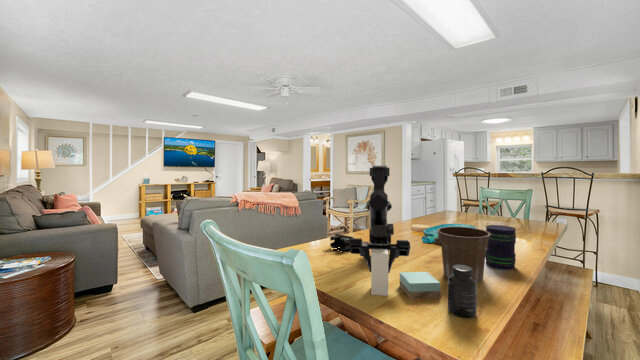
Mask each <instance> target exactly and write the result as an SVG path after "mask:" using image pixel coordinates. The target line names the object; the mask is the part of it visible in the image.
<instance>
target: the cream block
mask: <svg viewBox="0 0 640 360" xmlns="http://www.w3.org/2000/svg"><path fill="white" fill-rule="evenodd" d="M370 251H371V252H370V260H371V272H370V273H371V274H370V275H371V276H370V277H371V279H370V280H371V282H370V284H371V285H370V287H371V288H370V289H371V290H370V292H371V293H370V295H371V296H372V295H373V296H382V297H383V296H386V297H387V296H389V273H388V262H389V256H388V250H386V249H370Z"/></svg>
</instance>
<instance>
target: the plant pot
mask: <svg viewBox="0 0 640 360" xmlns="http://www.w3.org/2000/svg"><path fill="white" fill-rule="evenodd" d="M436 232H437V234H438V233H439V237H440V242H441V245H440V246H441V259H442V269H443V270H442V271H443V275H444V277H445V278H447V279H448V278H449V277H450V276H451V275H453V274H452V266H453V265H458V264H459V265H466V266H469V267H471V268H472V269H473V277H472V278H474V279H475V280H476V282H477V284H480V283H482V282H483V280H484V273H485V265H486V258H485V255H486V247H487V246H488V239H489V237H490V233H489V232H487V231H486V230H484V229H480V228H473V227H467V226H444V227H439V228H437V231H436Z"/></svg>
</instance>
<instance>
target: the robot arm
mask: <svg viewBox="0 0 640 360" xmlns="http://www.w3.org/2000/svg"><path fill="white" fill-rule="evenodd" d="M390 170H391V169H390V167H387V165H372V167H369V177H371V178H370V179H371V182H372V184H373V192H372V193H371V194H370V195H369V200H367V206H366V207H367V211H369V218H370V219H369V231H368V232H369V233H368V234H369V235H368V236H369V237H368V239H369V241H363V238H359V237H358V238H356V237H354V238H351V239H350V252H349V253H350V254H352V255H353V254H354V255H359V256H360V257H363V259H364V261H365V262H366V265H367V268H368V271H369V273H371V252H370V250H371V249H386V250H388V274H390V272H391V270H392V269H391V268H392V266H393V263H394V261H395V259H398V258H399V257H408V256H410V251H411V242H410V241H409V240H408V239H396V243H392V236H393V235H394V233H395V228H394V223H388V211H390V210H391V209H392V204H391V202H390V200H388V199H389V198H388V194H387V193H386V192H385V186H386V184H387V183H388V181H389V180H388V177H390Z"/></svg>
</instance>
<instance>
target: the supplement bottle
mask: <svg viewBox="0 0 640 360" xmlns="http://www.w3.org/2000/svg"><path fill="white" fill-rule="evenodd" d="M452 274H453V275H451V276H450V277H449V278H447V310H448V312H449V313H450V314H452V315H453V316H455V317H458V318H462V319H472V318H475V317H476V316H477V313H478V312H477V309H478V283H477V282H476V280H475V279H474V278H472V277H473V269H472V268H471V267H469V266H466V265H459V264H458V265H453V266H452Z"/></svg>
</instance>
